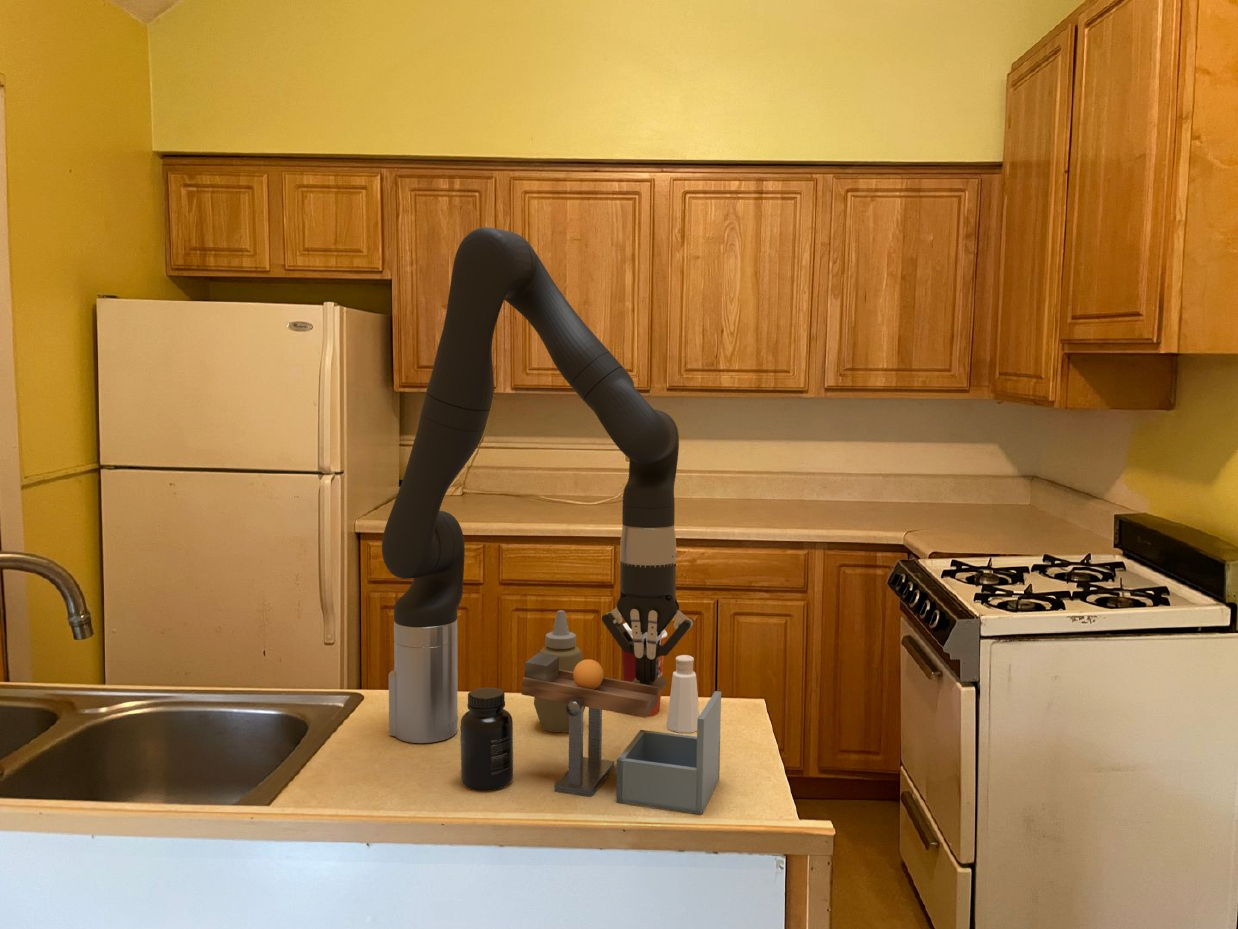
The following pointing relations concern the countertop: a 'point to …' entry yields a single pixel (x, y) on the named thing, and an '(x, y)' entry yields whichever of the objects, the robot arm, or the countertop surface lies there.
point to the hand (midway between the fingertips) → (647, 683)
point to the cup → (673, 766)
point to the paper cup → (630, 667)
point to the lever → (609, 695)
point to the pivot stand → (582, 770)
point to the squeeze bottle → (570, 655)
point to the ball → (588, 674)
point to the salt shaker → (683, 697)
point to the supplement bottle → (486, 741)
